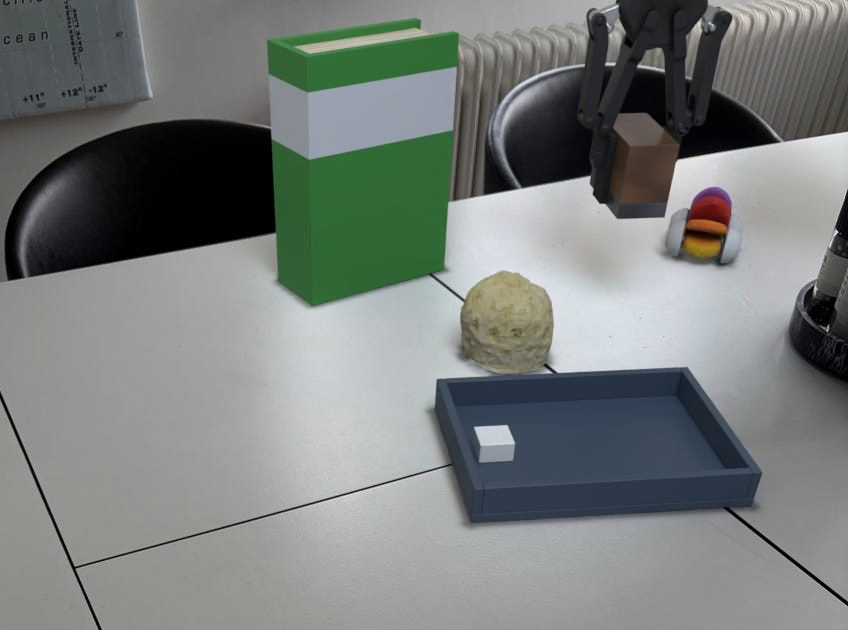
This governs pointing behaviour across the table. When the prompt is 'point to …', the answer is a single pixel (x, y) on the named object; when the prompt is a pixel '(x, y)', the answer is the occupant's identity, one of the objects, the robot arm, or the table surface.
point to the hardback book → (361, 155)
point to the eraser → (640, 168)
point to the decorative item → (507, 324)
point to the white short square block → (493, 443)
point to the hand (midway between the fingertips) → (626, 197)
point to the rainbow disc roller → (706, 227)
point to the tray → (594, 445)
